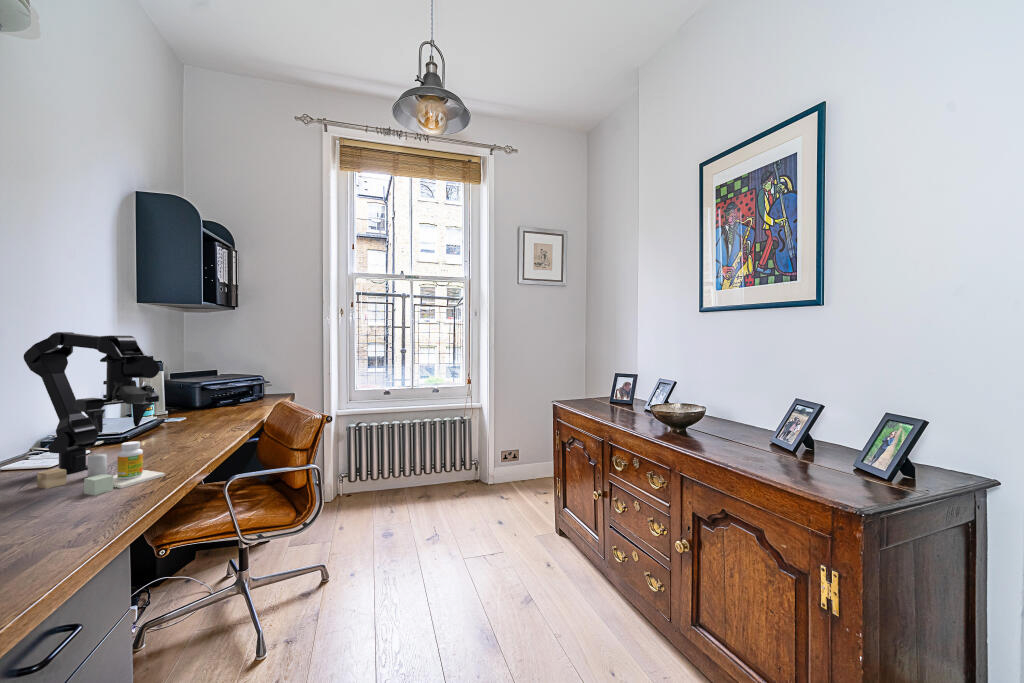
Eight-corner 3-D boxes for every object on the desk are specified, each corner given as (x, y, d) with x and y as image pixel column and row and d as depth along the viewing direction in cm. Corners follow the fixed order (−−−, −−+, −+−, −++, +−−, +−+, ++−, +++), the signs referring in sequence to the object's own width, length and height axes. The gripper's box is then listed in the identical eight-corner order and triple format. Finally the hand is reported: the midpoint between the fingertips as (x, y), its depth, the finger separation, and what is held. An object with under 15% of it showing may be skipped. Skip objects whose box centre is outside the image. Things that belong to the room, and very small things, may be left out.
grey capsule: (84, 477, 122) (84, 456, 122) (101, 473, 125) (101, 453, 125) (93, 479, 121) (93, 458, 120) (110, 474, 124) (110, 454, 124)
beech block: (37, 487, 114) (37, 472, 114) (56, 482, 117) (57, 468, 117) (46, 489, 112) (47, 474, 112) (66, 484, 116) (66, 469, 116)
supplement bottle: (127, 480, 117) (128, 445, 117) (112, 479, 118) (112, 444, 118) (147, 474, 123) (148, 441, 123) (132, 473, 124) (133, 440, 124)
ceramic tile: (93, 483, 117) (93, 480, 117) (138, 471, 127) (138, 469, 127) (121, 488, 114) (121, 485, 114) (164, 475, 124) (164, 473, 124)
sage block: (84, 493, 110) (84, 478, 110) (102, 488, 114) (103, 473, 114) (94, 495, 109) (94, 480, 109) (113, 490, 112) (113, 475, 112)
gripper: (99, 381, 115) (99, 438, 115) (172, 376, 133) (171, 425, 133) (72, 379, 118) (72, 435, 118) (147, 374, 136) (146, 422, 136)
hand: (118, 429), depth 126 cm, fingers open, 9 cm apart
